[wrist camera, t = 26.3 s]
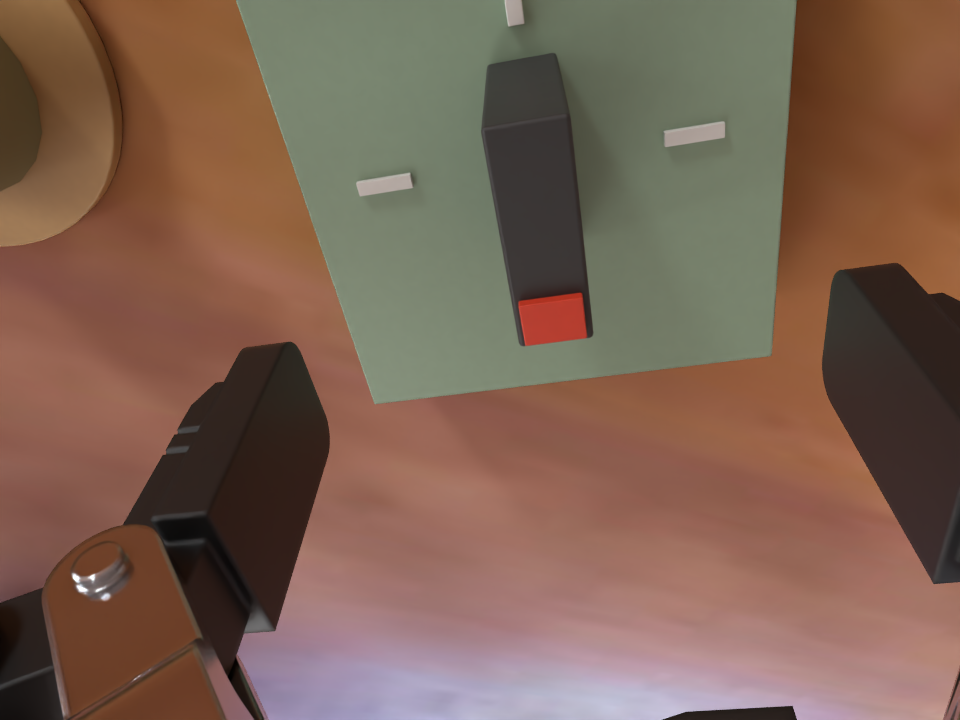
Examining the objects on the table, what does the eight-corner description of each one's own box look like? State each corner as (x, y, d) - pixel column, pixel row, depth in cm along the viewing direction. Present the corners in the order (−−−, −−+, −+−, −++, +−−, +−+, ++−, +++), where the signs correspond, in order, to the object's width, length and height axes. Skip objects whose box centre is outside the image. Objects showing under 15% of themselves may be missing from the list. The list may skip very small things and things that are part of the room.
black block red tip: (486, 63, 16) (479, 132, 12) (556, 51, 16) (571, 117, 12) (517, 251, 19) (519, 355, 15) (577, 242, 19) (595, 345, 15)
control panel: (236, -134, 17) (188, -129, 14) (767, -255, 15) (820, -275, 13) (387, 349, 25) (373, 408, 22) (744, 302, 23) (773, 360, 21)
